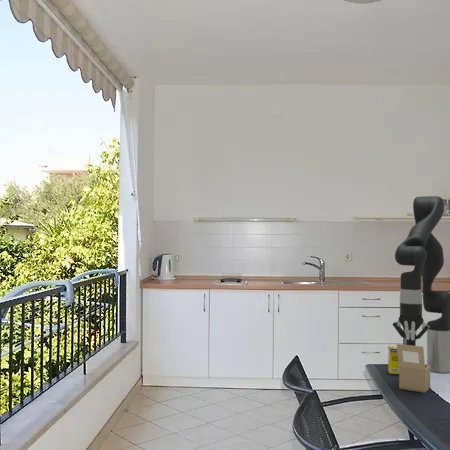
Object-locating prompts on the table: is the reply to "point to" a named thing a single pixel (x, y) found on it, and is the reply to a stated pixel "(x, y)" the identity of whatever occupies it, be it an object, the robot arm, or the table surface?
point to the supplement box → (393, 361)
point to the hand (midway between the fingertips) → (411, 350)
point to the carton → (414, 379)
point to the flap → (411, 356)
